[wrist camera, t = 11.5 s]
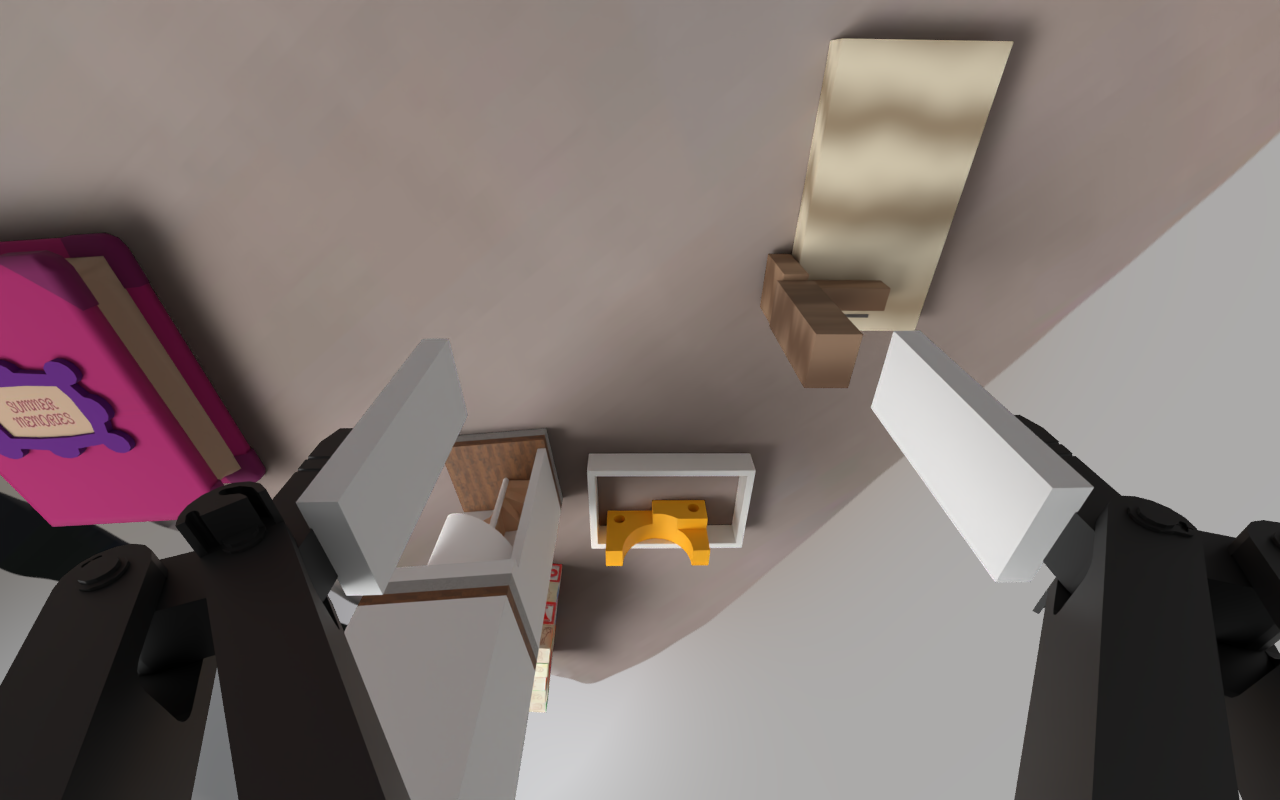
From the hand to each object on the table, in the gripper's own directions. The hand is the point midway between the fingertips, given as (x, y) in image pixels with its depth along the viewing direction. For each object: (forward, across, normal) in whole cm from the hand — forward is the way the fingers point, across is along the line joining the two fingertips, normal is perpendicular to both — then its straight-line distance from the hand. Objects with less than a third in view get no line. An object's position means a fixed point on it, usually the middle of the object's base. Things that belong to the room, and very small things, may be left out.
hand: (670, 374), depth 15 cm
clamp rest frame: (+31, +2, -35) cm, 47 cm away
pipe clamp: (+31, +1, -39) cm, 50 cm away
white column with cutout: (+31, -16, -31) cm, 47 cm away
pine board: (+31, +19, -2) cm, 37 cm away
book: (+32, -55, -18) cm, 66 cm away
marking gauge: (+31, +15, -9) cm, 36 cm away
